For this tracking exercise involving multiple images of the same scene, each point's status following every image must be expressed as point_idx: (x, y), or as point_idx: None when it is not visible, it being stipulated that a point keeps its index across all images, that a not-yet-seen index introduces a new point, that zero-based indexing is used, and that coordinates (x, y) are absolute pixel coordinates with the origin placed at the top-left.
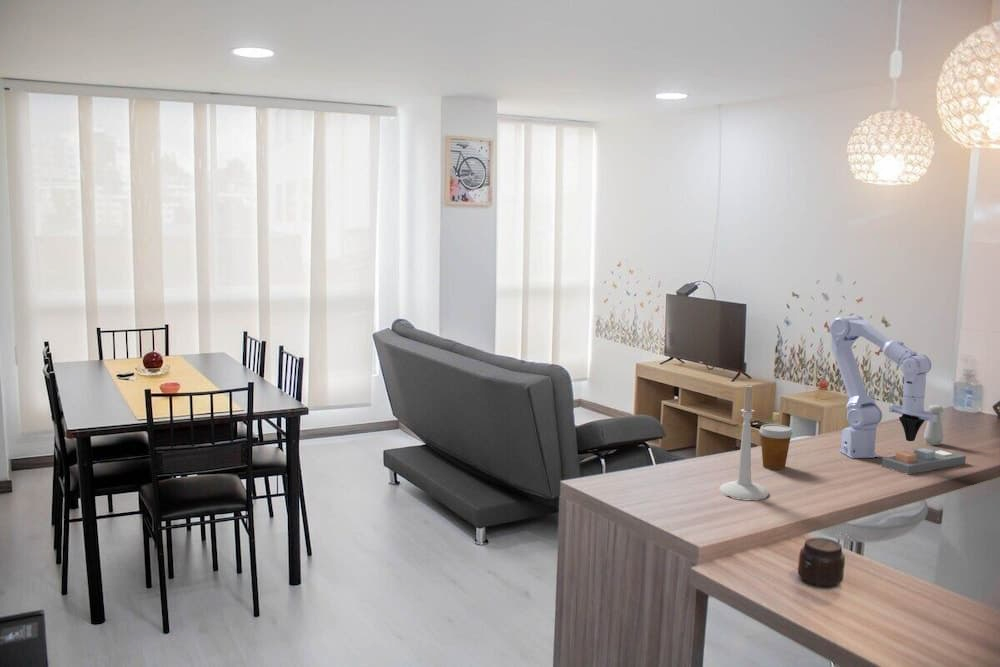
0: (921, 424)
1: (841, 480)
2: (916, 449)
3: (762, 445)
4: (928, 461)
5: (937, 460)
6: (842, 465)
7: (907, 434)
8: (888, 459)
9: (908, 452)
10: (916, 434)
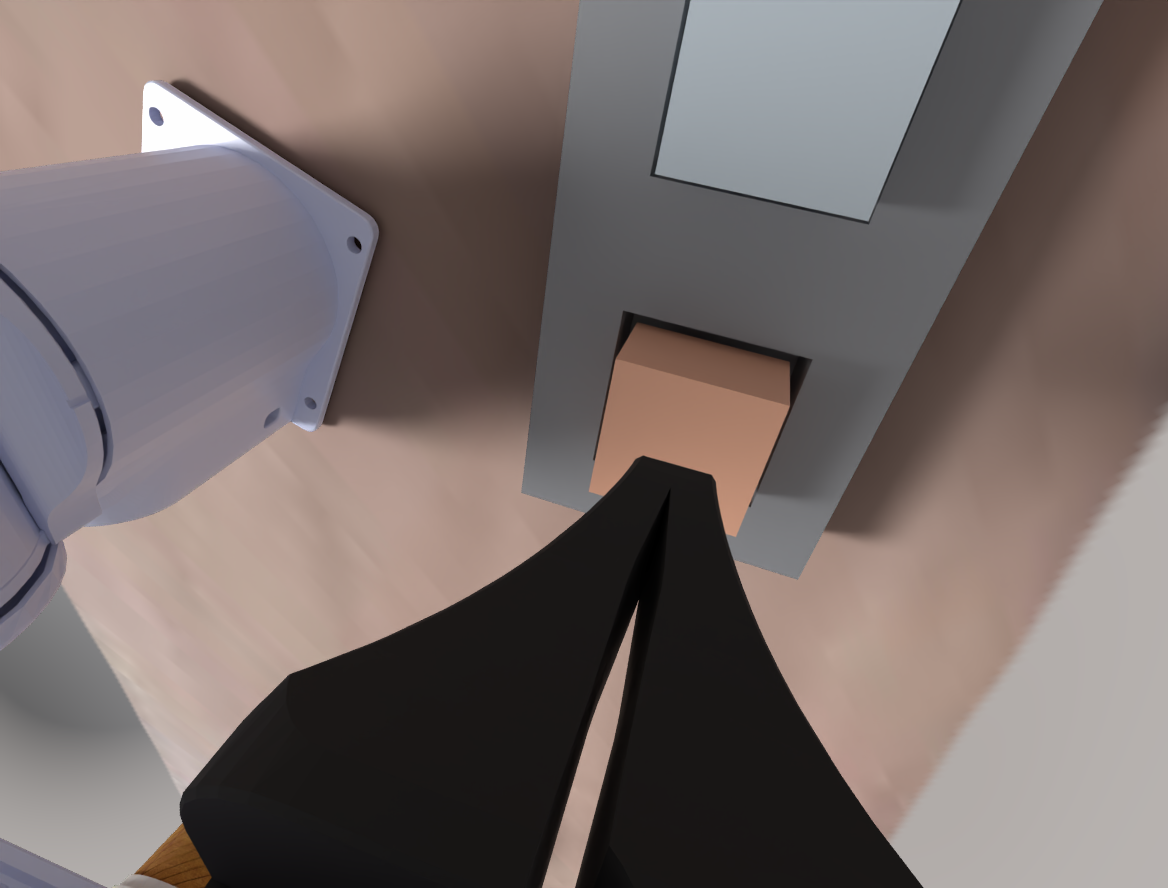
0: (829, 787)
1: (583, 788)
2: (669, 129)
3: None
4: (919, 261)
5: (1033, 85)
6: (412, 590)
7: (621, 642)
8: (575, 499)
9: (670, 383)
10: (728, 547)
